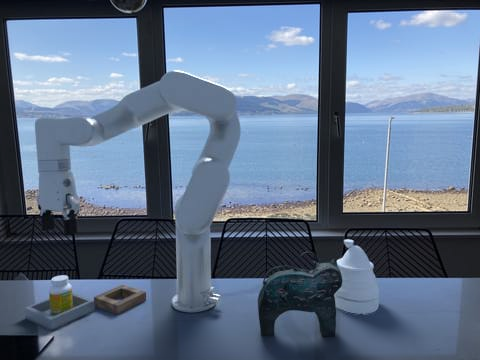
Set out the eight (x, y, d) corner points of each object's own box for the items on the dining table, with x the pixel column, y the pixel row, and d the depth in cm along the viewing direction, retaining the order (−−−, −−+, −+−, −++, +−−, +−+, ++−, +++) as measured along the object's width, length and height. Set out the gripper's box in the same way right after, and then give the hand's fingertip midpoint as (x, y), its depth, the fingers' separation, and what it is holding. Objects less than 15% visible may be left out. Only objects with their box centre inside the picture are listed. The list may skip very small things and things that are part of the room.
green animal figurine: (337, 326, 88) (339, 248, 86) (345, 341, 82) (347, 256, 79) (257, 326, 88) (257, 248, 86) (258, 341, 82) (258, 257, 79)
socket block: (146, 300, 103) (145, 291, 103) (118, 314, 94) (117, 305, 94) (122, 292, 108) (122, 284, 108) (94, 305, 100) (93, 297, 99)
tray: (94, 311, 96) (94, 300, 96) (51, 331, 86) (51, 319, 86) (68, 300, 103) (67, 290, 102) (25, 318, 93) (24, 307, 92)
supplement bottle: (63, 319, 91) (61, 282, 90) (45, 317, 92) (43, 281, 91) (77, 309, 96) (75, 274, 95) (60, 307, 98) (58, 273, 96)
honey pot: (327, 309, 97) (329, 245, 95) (333, 291, 109) (335, 233, 107) (378, 318, 92) (380, 250, 90) (378, 297, 104) (381, 237, 102)
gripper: (89, 166, 90) (93, 232, 92) (49, 164, 99) (53, 225, 101) (61, 169, 83) (65, 239, 85) (21, 166, 92) (26, 231, 94)
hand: (59, 231), depth 93 cm, fingers open, 9 cm apart
